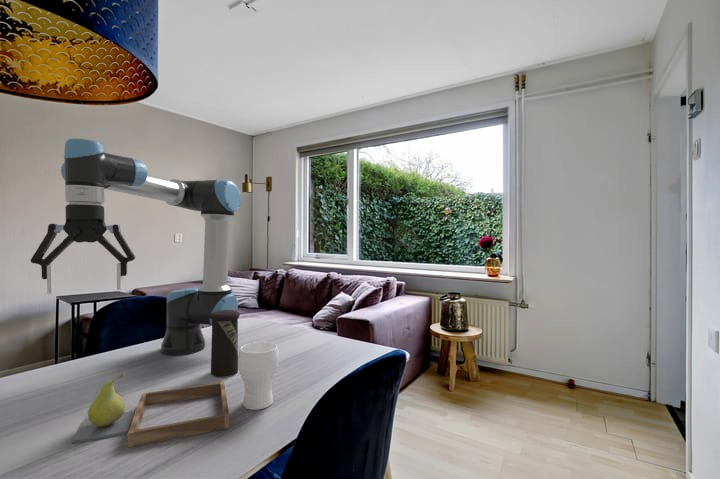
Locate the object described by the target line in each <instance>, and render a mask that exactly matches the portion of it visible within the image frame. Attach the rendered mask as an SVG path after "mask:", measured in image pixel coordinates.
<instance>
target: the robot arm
mask: <svg viewBox="0 0 720 479" xmlns="http://www.w3.org/2000/svg"><path fill="white" fill-rule="evenodd" d="M63 151H64V154H63V159H64V160H63V161H64V162H63V163H62V165H61V168H60V173H61V177H62V178H63V180H64V182H65V186H64V195H65V196H64V197H65V199H64V200H65V202H66V203H68V204H66V205H65V207H64V208H65V223H64V225H63V224H57V223H49V224H48V226H47V232H46V234H45V236H44V237H43V239H42V241H41V243H40V244H39V246H38V247H37V249H36V251H35V252H34V254H33V256H31V258H30V262H31V264H37V265H39V266H40V267H41V279H42V280H46V290H47V294H48V295H49V294H50V295H51V294H54V293H55V292H56V269H55V268H56V265H55V264H52V263H53V262H54V261H55V260H56V259H57V258H58V257H59V256H60V255H61V254H62V253H63V252H64V251H65V250H66V249H67V248H68V247H70V245H71V244H73V243H74V242H75V243H80V244H81V243H96V242H97V243H99V244H100V245H101V246H102V247H104V249H105V250H106V251H108V252H109V253H110V254H111V255H112V256H113V257H114V258H115V259H116V260H117V261H118V262H117V264H116V291H120V290H122V289H123V277H125V276H127V274H128V263H129V262H132V261H134V260H135V259H136V256H135V254H134V252H133V251H132V249H131V248H130V245H128V243H127V241H126V239H125V238H124V235H123V234H122V232H121V226H120V225H119V224H113V225H112V224H111V225H106V222H105V207H104V205H102V204H105V190H109V191H114V192H119V193H122V194H128V195H132V196H137V197H138V196H139V197H143V198H147V199H152V200H158V201H163V202H165V203H166V204H167V205H169V206H174V207H176V208H177V207H178V208H182V209H186V210H189V211H195V212H200V216H201V217H202V218H203V219H204V238H203V239H204V241H203V244H204V245H203V270H202V285H201V286H200V287H189V288H182V289H175V290H171V291H169V292H168V293H167V296H166V302H165V304H166V330H165V334H164V337H163V339H162V342H161V345H160V352H161V353H162V354H164V355H168V356H182V355H183V356H184V355H188V354H195V353H197V352H200V351H202V350H203V349H205V347H206V346H205V345H206V340H205V337H204V334H203V331H202V329H201V325H206V326H207V325H208V326H212V320H211V318H210V315H211V314H212V313H213V312H216V311H221V310H235V311H238V308H239V307H238V306H239V302H238V299H237V297H236V296H235V294H233V293H232V287H231V286H230V285H229V284H228V282H229V281H228V280H229V279H228V277H229V253H230V252H229V248H230V222H231V220H233V218H234V217H235V212H237V211H238V210H239V209H240V207H241V205H242V195H241V191H240V189H239V188H238V187H237V186H238V185H237V184H236V183H234V182H233V181H231V180H226V179H211V180H210V179H207V180H180V179H177V178H176V179H175V178H174V179H170V180H169V179H165V178H162V177H157V176H155V175H150V174H148V167H147V166H146V164H145V162H143V161H141V160H139V159H136V158H133V157H126V156H121V155H116V154H113V153H108V152H105V149H104V145H103V144H102V142H99V141H96V140H93V139H87V138H78V137H77V138H69V139H66V141H65V143H64V150H63ZM107 230H108V231H109V233H111V234H113V235H114V238H115V239H116V241H117V243H118V244H119V245H120V248H121V249H122V251H123V252H124V254H125V256H124V254H122V253H121V252H120V251H119V250H118V249H117V248H116V247H115V246H114V245H113V244H111V242H110V241H109V240H108V239H107V238H106V237H105V236H104V234H105V233H106V232H107ZM61 231H64V232H65V234H67V236H66V237H65V238H64V239H63V240H62V241H61V242H60V244H58V245H57V246H56V247H55V248H54V249H53V250H52V251H51V252H50V253H49V254H47V256H45V255H46V253H47V252H48V250H49V248H50V247H51V245H52V243H53V242H54V240H55V239H56V237H57V234H60V233H61ZM44 256H45V258H44Z"/></svg>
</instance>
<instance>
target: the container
mask: <svg viewBox="0 0 720 479" xmlns="http://www.w3.org/2000/svg"><path fill="white" fill-rule="evenodd" d="M240 315H241V314H240V312H239V311H238V310H237V311H235V310H221V311H216V312H213V313H212V314H211V315H210V318H211V320H212V325H211V347H210V348H211V350H210V351H211V353H210V376H212V377H215V378H216V377H217V378H226V377H230V376H234V375H236V374H237V373H238V372H239V369H238V356H239V339H238V338H239V333H238V332H239V330H238V329H239V328H238V326H239V324H238V323H239V321H238V320H239V318H240Z"/></svg>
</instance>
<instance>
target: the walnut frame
mask: <svg viewBox="0 0 720 479" xmlns="http://www.w3.org/2000/svg"><path fill="white" fill-rule="evenodd" d="M226 392H227V391H226V385H225V381H219V382H213V383H207V384H199V385H198V384H197V385H194V386H193V385H192V386H185V387H178V388H172V389H167V390H165V389H163V390H158V391H151V392H145V393H141V396H140V398H139V402H138V403H137V407H136V410H135V414H134V417H133V420H132V422H131V425H130V428H129V431H128V434H127V448H128V447H129V448H135V447H138V446H143V445H144V446H145V445H148V444H154V443H159V442H164V441H169V440H175V439H180V438H185V437H191V436H196V435H200V434H207V433H211V432H215V431H222V430H225V429H229V428H230V411H229V405H228V399H227V398H228V397H227V393H226ZM219 395H220V402H221V411H222V414H217V415H210V416H206V417H199V418H195V419H189V420H184V421H183V420H182V421H178V422H172V423H168V424H167V423H165V424H161V425H156V426H150V427H145V428H140V427H141V423H142V419H143V416H144V414H145V409H146V408H147V407H148V406H155V405H161V404H167V403H175V402H180V401H186V400H187V401H188V400H192V399H200V398H205V397H213V396H219Z"/></svg>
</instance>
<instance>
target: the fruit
mask: <svg viewBox="0 0 720 479" xmlns="http://www.w3.org/2000/svg"><path fill="white" fill-rule="evenodd" d="M124 376H125V373H121V374H120V375H119V376H117V377H115V378H113V379H112V380H108V381H107V382H105V383H104V384H103V385H102V386H101V389H100V391H99V393H98V394H97V396H96V397H95V399H94V400H93V401H92V403H91V404H90V405H89V408H88V410H87V418H89V420H90V422H91V423H93V424H94V425H96V426H99V427H103V426H107V425H109V424H111V423H113V422H115V421H116V420H118V419H119V418H120V417H121V416H122V414H123V413H124V412H125V410H126V404H125V401H124V399H123V398H122V396H120V395H119V394H118V393H117V392H116V391H115V387H114V382H115V381H116V380H119V379H121V378H122V377H124Z"/></svg>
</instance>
